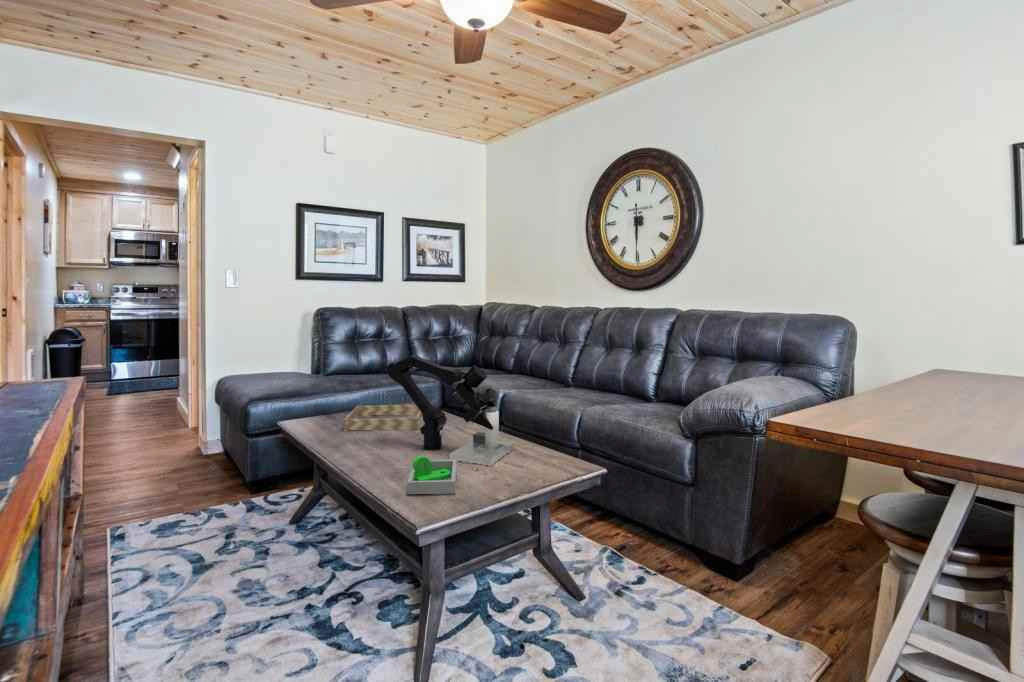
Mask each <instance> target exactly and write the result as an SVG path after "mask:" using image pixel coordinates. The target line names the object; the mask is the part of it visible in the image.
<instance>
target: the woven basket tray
mask: <svg viewBox="0 0 1024 682" xmlns="http://www.w3.org/2000/svg"><path fill="white" fill-rule="evenodd" d="M372 415H405V416H416V417H411V418H410V417H409V418H408V417H407V418H405V417H403V418H402V417H400V418H396V417H395V418H359V417H373V416H372ZM422 417H423V416H422V413H421V411H420V410H419V408H418V407H417V406H416V404H387V405H386V404H385V405H384V404H383V405H382V404H381V405H378V404H375V405H372V404H371V405H356V406H355V407H354V408H353V409H352V410H351V412H349V414H347V416H346V417H345V418H344V419H343V431H344V430H383V431H415V430H414V429H419V430H420V427H419V426H421V424H422V421H423V418H422ZM421 420H422V421H421ZM420 423H421V424H420ZM412 429H413V430H412Z"/></svg>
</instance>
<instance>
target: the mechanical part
mask: <svg viewBox="0 0 1024 682" xmlns="http://www.w3.org/2000/svg"><path fill="white" fill-rule="evenodd" d="M429 460H430V459H429V458H428V457H426V456H424V455H419V456H417V457H416V458H415V459H414V460H413V461H412V466H413V469H415V481H431V480H445V479H447V480H449V479H448V478H450V477H452V472H450V471H449V470H447V469H441V470H436V471H431V464H430V461H429ZM422 462H424V467H423V468H422V469H419V465H420V464H421V463H422ZM450 479H451V478H450Z"/></svg>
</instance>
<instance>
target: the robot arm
mask: <svg viewBox="0 0 1024 682" xmlns="http://www.w3.org/2000/svg"><path fill="white" fill-rule="evenodd" d="M413 368H415V369H418V370H420V371H422V372H425V373H428V374H429V375H433V376H435V377H437V378H438V379H439V381H440V382H441V383H444V384H445V385H447V386H452V387H450V389H451V391H450V395H451V396H453V395H455V394H457V396H458V397H460V399H461V400H462V402H463V406H465V407H466V406H467V407H468V409H469V410H468V411H467V412H466V413H464V415H463V420H464V422H466V424H467V423H469V422H471V423H474V424H476V425H480V426H482V427H484V428H485V427H486V428H488V429H490V430H492V429H493V426H492V425H491V423H490V422H489V420H488V419H487V417H486V416H485V411H487V410H488V407H496V406H497V404H498V401H497V400H496V399H495V398H497V396H496V390H495V389H493V388H492V387H489V388H487V389H485V392H483V393H480V392H479V391H475V390H474V389H477V388H479V386H480V385H481V384H483V382H484V381H485V380H486V379H488V376H487V375H488V374H487V373H486V372H485V370H483V369H482V368H480V367H478V366H477V365H476V364H475V365H472V366H471V367H470V369H469V370H468V371H467V372H466V371H462V370H461V369H460V368H456V367H452V366H443V365H440V364H438V363H436V362H432V361H430V360H428V359H425V358H423V357H421V356H419V355H417V354H413V355H408V356H407V357H406V358H404V359H401V360H400V361H396V362H392V363H390V364H388V365H387V368H386V374H387V375H388V377H389V378H391V380H392V381H393V382H396V383H397V384H399V385H400V386H402V388H403V389H404V391H405V392H406V393H407V395H408V396H409V398H410V399H411V401H412V402H413V403H414V405H416V406H417V407H418V408H419V410H420V411H421V413H422V416H423V418H422V422H423V423H424V424H423V425H422V426H421V428H420V427H419V431H420V434H421V435H423V450H424V451H425V450H428V449H431V450H440V449H441V448H442V447H443V446H442V445H443V440H442V437H443V435H442V434H441V431H443V429H444V427H445V426H446V425H447V416H446V413H445V412H444V411H443V410H442V408H441V407H440V406H436V407H435V406H434V405H432V403H431V401H429V400H428V398H427V397H426V396H425V395H424V393H423V391H422V390H421V389H420V388H419V386H418V385H417V384H416V383H415V381H414V379H413V378H412V375H411V373H412V372H411V369H413ZM453 385H455V386H453Z"/></svg>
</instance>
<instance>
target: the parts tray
mask: <svg viewBox="0 0 1024 682" xmlns="http://www.w3.org/2000/svg"><path fill="white" fill-rule="evenodd" d="M429 461H430V464H431V471H436V470H441V469H447V470H449V471H450V472H451V478H450V479H447V480H431V481H415V469H413V465H411V466H412V467H411V469H410V473H409V475H408V479H407V490H406V491H407V495H408V494H435V495H447V494H446V493H455V494H456V488H455V487H456V485H457V484H456V483H457V473H456V472H457V470H458V469H457V464H458V463H457V462H458V461H457V460H450V459H437V460H436V459H433V460H430V459H429ZM423 467H424V462H422V463H421V464H420V465H419V469H422V468H423Z"/></svg>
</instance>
